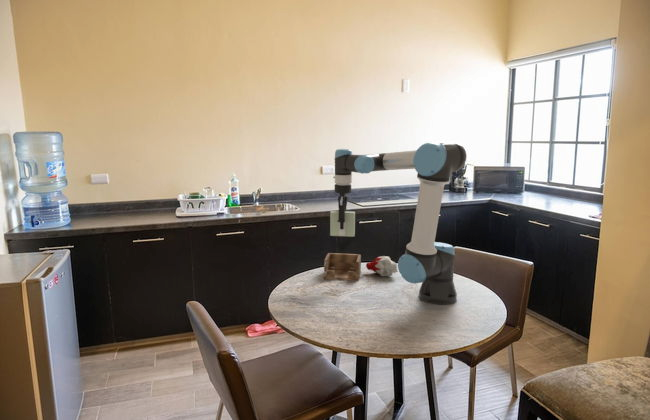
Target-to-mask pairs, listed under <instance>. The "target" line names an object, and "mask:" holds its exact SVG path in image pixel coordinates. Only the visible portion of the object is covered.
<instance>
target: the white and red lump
mask: <svg viewBox="0 0 650 420" xmlns="http://www.w3.org/2000/svg"><path fill="white" fill-rule="evenodd" d="M365 267H366V269H367V270H368V271H372V272H373V273H374V272H375V273H376V274H377V275H380V276H381V277H391V276H392V275H393V274H394V273H398V263H396V262H395V261H393V260H391V257H390V256H385V255H382V256H381V255H380V256H377V257H376V258H375V259H374V260H373V261H371V262H367V263H366V264H365Z"/></svg>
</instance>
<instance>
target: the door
mask: <svg viewBox="0 0 650 420" xmlns="http://www.w3.org/2000/svg"><path fill="white" fill-rule="evenodd" d="M338 220H339V210H330V217H329V221H330V222H329V223H330V224H329V226H330V227H329V230H330V231H329V232H330V233H329V236H332V237H340V236H339V222H337V221H338ZM355 234H356V211H347V210H346V211H345V236H344V237H351V238H352V237H355V236H356V235H355Z"/></svg>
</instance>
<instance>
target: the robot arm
mask: <svg viewBox="0 0 650 420" xmlns="http://www.w3.org/2000/svg"><path fill="white" fill-rule="evenodd" d="M464 147H465V146H463V145H462V144H461V143H459V142H456V141H451V140H450V141H430V142H425V143H423V144H422V145H420V146H419V147H418V148H417V149H415V150H406V151H396V152H386V153H374V154H372V153H371V154H353V151H352V149H349V148H348V149H347V148H338V149H336V150H335V151H334V152H335V153H334V176H333V177H332V178H333V179H334V193H335V194H339V196H338V197H337V202H338V205H337V206H338V211H339V220H338V221H337V222H339V236H338V237H346V236H345V211H346V212H347V204H348V196H347V194H351V192H352V180H353V178H352V176H353V175H352V173H359V174H370V173H371V172H382V171H383V172H384V171H397V170H414V169H415V170H414V171H416V172H417V174H416V177H417V179H418V180H419V188H418V195H417V202H416V209H415V216H414V221H413V222H414V223H413V229H412V234H411V240H410V242H409V243H407V244H406V246H405V247H406V248H405V253H404V254H402V255H401V256H400V257H399V259H398V261H397V270H398V272H399V274H400V275H401V277H402V278H403V279H404V280H405V281H406V282H407V283H410V284H414V285H415V284H418V283H419V284H420V283H421V285H420V288H419V290H418V297H419V299H420V300H422V301H424V302H425V303H430V304H435V305H450V304H453V303H455V302H456V301H457V290H456V286H455V284H454V272H455V256H456V254H455V247H454V246H453V245H452V244H449V243H445V242H440V241H439V242H437V241H435V240H436V236H437V229H438V224H439V218H440V211H441V205H442V200H443V196H444V190H445V189H444V187H445V185H447V184H449V182H450V179H451V174H452V173H455V172H458V171H459V170H461V169H462V168H463V167H464V165H465V164H466V161H467V151H466V149H465V148H464Z"/></svg>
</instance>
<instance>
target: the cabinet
mask: <svg viewBox="0 0 650 420" xmlns="http://www.w3.org/2000/svg"><path fill="white" fill-rule="evenodd" d="M361 265H362V254H359V253H358V254H356V253H340V252H339V253H337V252H335V253H333V252H327V254H326V256H325V258H324V260H323V274H324V275H323V279H324V280H335V279H337V280H339V281H354V282H355V281H357V282H358V281H359V280H360V276H361V274H362V272H361V271H362V270H361V269H362V268H361V267H362V266H361Z"/></svg>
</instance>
